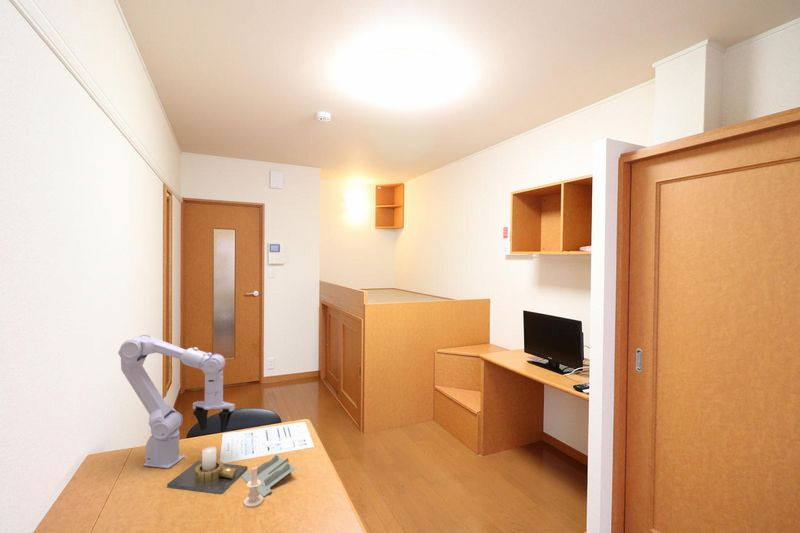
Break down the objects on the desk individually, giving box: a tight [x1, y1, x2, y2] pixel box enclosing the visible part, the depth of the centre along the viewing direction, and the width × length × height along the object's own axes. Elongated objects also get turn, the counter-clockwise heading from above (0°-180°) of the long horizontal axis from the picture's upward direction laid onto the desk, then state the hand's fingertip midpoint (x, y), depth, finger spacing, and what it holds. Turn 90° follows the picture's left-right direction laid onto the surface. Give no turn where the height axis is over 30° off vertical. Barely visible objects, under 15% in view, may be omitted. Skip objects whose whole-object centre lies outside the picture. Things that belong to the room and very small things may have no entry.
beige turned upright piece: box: [243, 465, 264, 508], centre depth 110 cm, size 5×5×10 cm
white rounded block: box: [201, 446, 217, 472], centre depth 121 cm, size 4×4×8 cm
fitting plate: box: [166, 459, 249, 495], centre depth 122 cm, size 18×14×4 cm
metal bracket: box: [240, 454, 296, 498], centre depth 122 cm, size 14×6×15 cm
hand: (213, 430), depth 132 cm, fingers open, 7 cm apart
